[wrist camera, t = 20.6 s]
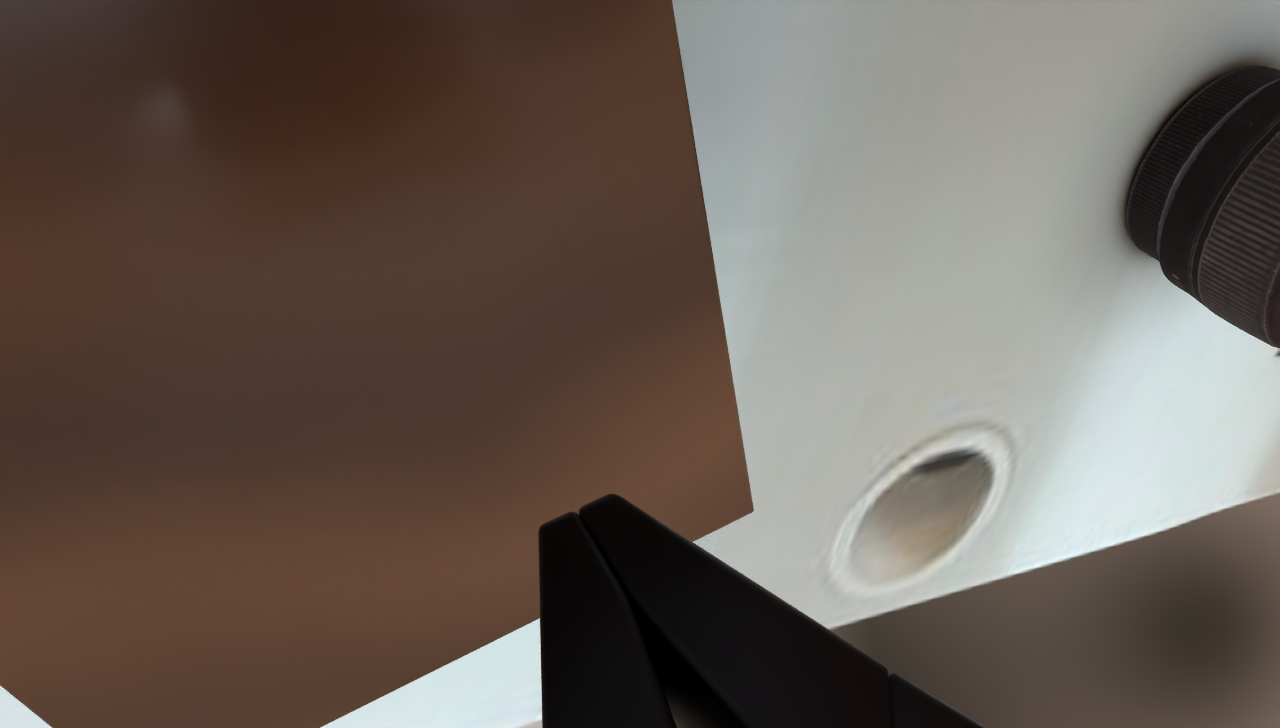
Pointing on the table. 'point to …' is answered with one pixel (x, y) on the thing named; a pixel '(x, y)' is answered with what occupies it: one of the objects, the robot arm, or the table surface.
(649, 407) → the cabinet
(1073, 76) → the table surface
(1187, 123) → the camera lens
